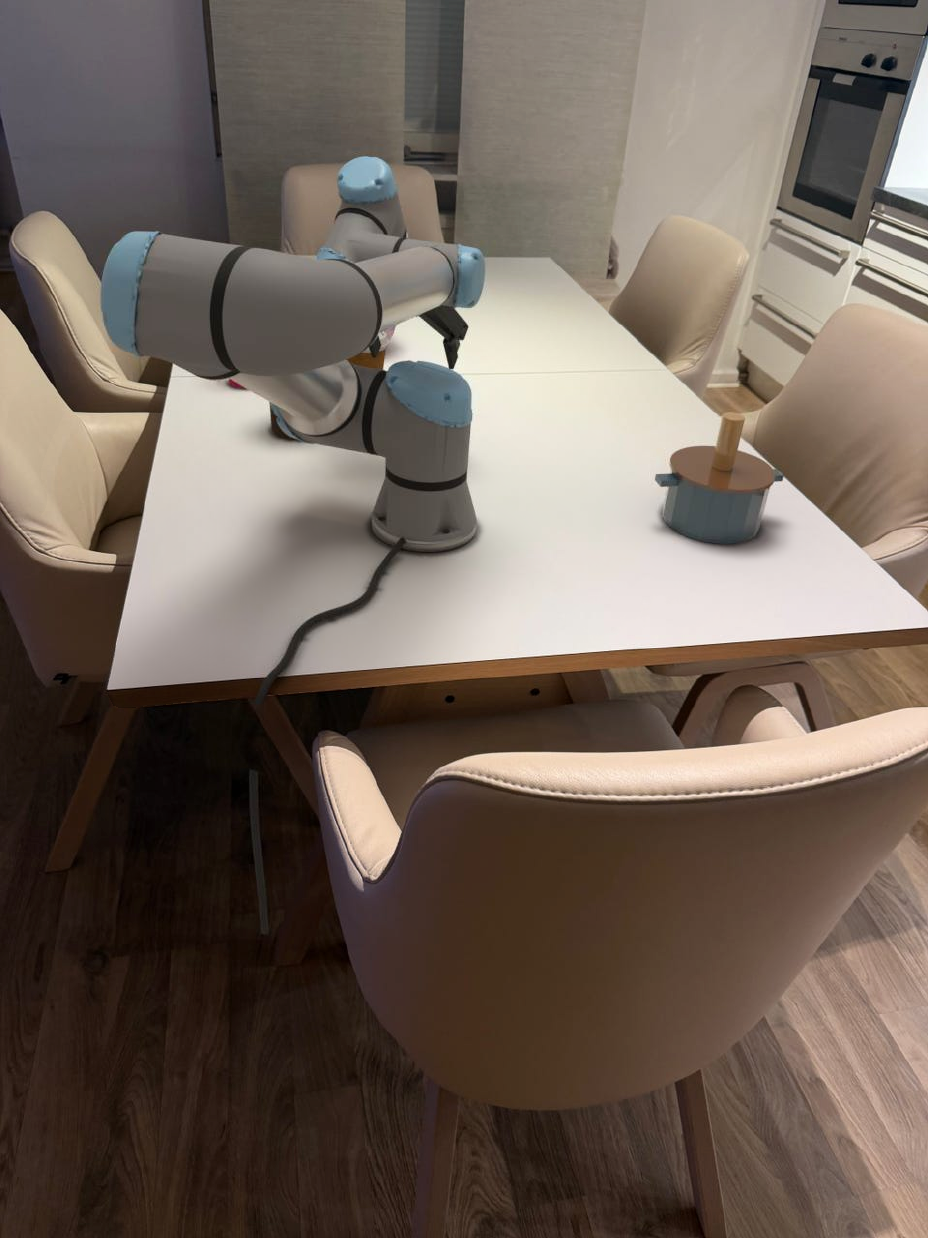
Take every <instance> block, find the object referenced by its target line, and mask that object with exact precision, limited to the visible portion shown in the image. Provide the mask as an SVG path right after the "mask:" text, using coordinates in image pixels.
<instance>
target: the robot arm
mask: <svg viewBox="0 0 928 1238" xmlns="http://www.w3.org/2000/svg"><path fill="white" fill-rule="evenodd" d="M336 184H337V189H338V193H337V194H338V196H339V198H340V199H341V203H340V206H339V208H338V210H337V212H336V214H335V216H334V221H333V225H332V226H331V228H330V230H329V232H328V234H327V236H326V238H325V240H324V242H323V244H322V245H321V248H319V250H318V252H317V255H316V258H311V257H305V256H301V255H295V254H290V253H286V252H281V251H277V250H272V249H268V248H261V247H250V246H246V245H240V244H232V243H224V242H217V241H210V240H204V239H197V238H191V237H184V236H179V235H178V236H177V235H171V234H165V233H163V232H162V231H160V230H159V231H158V230H156V231H139V230H138V231H131V232H129V233H127V234H125V235H123V236H122V237H121V238H120V240H119V241H117V242H116V243H115V244H114V246H113V247H112V248H111V250H110V252H109V254H108V257H106V258H107V259H106V261H105V264H104V266H103V267H104V268H103V272H102V277H101V282H100V283H101V284H100V297H99V298H100V300H99V301H100V310H101V313H102V321H103V325H104V328H105V331H106V333H107V336H108V337H109V339H110V341H111V342H112V343H113V344H114V345H115V346H116V348H118V349H119V350H121V351H123V352H126V353H130V354H133V355H134V356H136V357H137V358H142V357H148V358H155V359H159V360H162V361H166V362H168V363H171V364H172V365H175V366H176V367H178V368H181V369H182V370H184V371H186V372H188V373H190V374H192V375H194V376H196V377H198V378H200V379H204V380H208V381H225V380H229V379H231V380H233V381H234V382H236V383H238V384H240V385H241V386H243V387H245V388H244V389H247V390H248V391H250V392H251V393H254V394H256V395H257V396H259V397H260V398H262V399H264V400H266V401H268V403H269V402H271V403H273V409H274V414H275V415H276V416H278V417H277V423H278V425H279V427H280V428H281V429H282V431H283V432H284V433H285V434H287V435H288V436H290V437H292V438H294V439H297V440H296V441H299V442H302V443H305V444H311V445H321V446H327V447H332V448H337V449H342V450H348V451H353V452H359V453H364V454H369V455H373V456H377V457H382V458H384V459H385V463H384V464H385V466H384V467H385V468H384V469H385V471H384V474H385V475H384V479H383V482H382V484H381V487H380V490H379V493H378V495H377V497H376V501H375V503H374V506H373V509H372V512H371V529H372V531H373V533H374V535H375V536H376V537H377V538H379V539H380V540H381V541H383V542H384V543H386V544H388V545H390V546H393V547H392V548H391V549H390V550H389V552H388V553H387V555H385V557H384V558H383V559H382V561H381V562H380V563H379V565H378V566H377V568H376V569H375V570H374V573H373V575H372V577H371V580H370V583H369V585H368V587H367V589H366V591H365V592H364V593H363V594H362V595H360V597H358V598H356V599H355V600H353V601H351V602H348V603H346V604H344V605H340V606H338V607H334V608H332V609H328V610H325V611H323V612H320V613H318V614H316V615H314V616H311V617H310V618H309V619H306V621H305V622H303V623H302V624H301V625H300V626H299V627H298V628H297V629H296V630H295V631H294V634H293V635H292V637H291V639H290V642H289V643H288V646H287V649H286V651H285V653H284V655H283V657H282V659H281V660H280V662H279V663H278V664H277V665H276V667H274V668H273V669H272V670H271V671H270V672H269V673H268V674H267V675H266V677H265V678H264V679H263V681H262V682H261V684H260V686H259V689H258V692H257V694H256V697H255V700H254V704H253V707H254V708H256V709H260V708H262V707H263V706H264V704H265V700H266V697H267V695H268V692H269V691H270V688H271V686H272V685H273V683H274V681H275V680H277V678H278V677H279V676H280V675H281V674H282V673H283V672H284V671H285V670H286V669H287V667H288V665H289V664H290V663H291V661H292V660H293V657H294V656H295V653H296V650H297V648H298V645H299V643H300V641H301V639H302V638H303V635H304V634H305V633H306V632H307V631H308V630H309V629H310V628H312V627H313V626H315V625H316V624H318V623H320V622H323V621H325V620H328V619H330V618H333V617H337V616H341V615H344V614H346V613H349V612H352V611H353V610H356V609H357V608H359V607H361V606H362V605H364V604H365V603H366V602H367V601H369V600H370V599H371V598H372V596H373V595H374V593H375V592H376V590H377V587H378V583H379V581H380V579H381V576H382V575H383V573H384V571H385V570H386V568H387V567H388V566H389V565H390V563H391V562H392V561H393V559H394V558H395V557H396V556H397V554H398V553H399V552H400V550H405V551H411V552H422V553H433V552H435V553H436V552H443V551H448V550H453V549H456V548H458V547H461V546H463V545H465V544H467V543H468V542H469V541H471V540H472V539H473V537H474V536H475V534H476V529H477V515H476V510H475V506H474V503H473V499H472V496H471V492H470V488H469V485H468V468H469V453H470V441H471V440H470V439H471V426H472V421H473V414H474V413H473V409H472V400H473V399H472V397H473V396H472V395H473V394H472V389H471V386H470V384H469V383H468V381H467V380H466V379H465V378H464V377H463V376H462V374H460V373H458V372H457V371H455V370H454V369H455V367H456V364H457V361H458V359H459V354H458V353H459V349H460V347H461V341H464V340H465V338H466V336H467V333H468V331H469V325H468V323H467V322H466V321H465V319H464V318H463V317H462V315H460V313H459V312H458V311H457V310H456V309H457V308H459V309H472V308H475V306H477V305H478V303H479V301H480V299H481V297H482V294H483V290H484V286H485V278H486V261H485V257H484V255H483V252H482V251H481V250H480V249H479V248H476V247H472V246H466V245H462V244H461V243H456V244H455V243H447V242H446V243H445V242H440V241H439V242H437V241H430V240H422V239H414V238H410V237H409V234H408V230H407V227H406V223H405V218H404V215H403V214H404V213H403V209H402V206H401V205H402V204H401V201H400V196H399V192H398V190H399V189H398V185H397V184H396V180H395V178H394V174H393V171H392V169H391V167H390V165H389V164H388V163H387V162H386V161H385V160H384V159H381V158H379V157H376V156H368V155H364V156H358V157H356V158H353V159H351V160H350V161H348V162H346V163H345V164H344V165H343V166H342V167H341V168H340V169H339V171H338V173H337V177H336ZM417 317H418V318H419V319H421V320H423V321H424V322H425V323H426V324H427V325H429V326H430V327H431V328H432V329H433V330H434V331H436V332H437V333H438V334H439V335H441V337H443V340H442V344H443V349H444V353H445V358H446V361H447V362H446V363H447V366H448V367H447V366H445V365H441V364H438V363H435V362H430V361H425V360H416V361H413V360H401V361H398V362H394V363H392V364H391V365H390V366H389V367H388V369H387V370H386V369H383V370H380V369H374V368H369V367H363V366H358V365H354V364H352V363H350V362H349V361H348V360H347V359H349V358H351V357H353V356H355V355H357V354H359V353H361V352H363V351H365V350H366V349H367V348H369V349H370V352H371V355H372V357H374V358H376V357H377V355H378V352H379V350H380V348H381V342H380V339H379V336H378V334H379V333H381V332H383V331H385V330H387V329H389V328H391V327H394V326H396V327H397V326H398V325H400V324H403V323H405V322H407V321H409V320H410V319H411V320H412V319H413V318H417ZM248 779H249V781H248V782H249V784H248V785H249V813H250V815H249V816H250V829H251V830H250V831H251V841H252V852H253V860H254V869H255V878H256V888H257V897H258V898H257V899H258V908H259V921H260V923H259V924H260V933H261V935H263V936H264V935H265V936H267V934H269V932H270V931H269V918H268V917H269V915H268V903H267V892H266V883H265V873H264V862H263V855H262V854H263V851H262V841H261V840H262V839H261V829H260V813H259V812H260V811H259V771H258V770H254V769H251V768H249V778H248Z"/></svg>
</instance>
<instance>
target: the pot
mask: <svg viewBox="0 0 928 1238" xmlns="http://www.w3.org/2000/svg"><path fill="white" fill-rule="evenodd" d="M773 470H774V472H775V480H774V483H776V482H783V480H784V474H783V473H781V472H780V471H779V470H778V469H777V468H773ZM654 481H655V483H656V484H658V486H659V487H660V488H666V490H665V495H664V500H663V505H662V518H663V521H664V522H665V523H666V524H667V525H668V526H669V527H670V528H671V529H672V530H673V531H676V532H677V533H679V534H680V535H683V536H686V537H687V538H690V539H693V540H697V541H700V542H705V543H709V544H710V543H712V544H720V545H723V544H727V545H728V544H729V545H731V544H739V543H744V542H747V541H749V540H751V539H753V538H754V537H755V536H756V535H757V533H758V531H759V530H760V527H761V523H762V519H763V516H764V512H765V509H766V504H767V500H768V496H769V493H770V489H771V486H770V487H769V488H767V489H765V490H763V491H759V492H754V493H745V494H736V493H724V492H718V491H713V490H708V489H705V488H701V487H698V486H696V485H693V484H691V483H689V482H686V481H685V480H683V479H681V478H680V477H678V476H677V475H676V474H675V473H674V472H673V471H672V470H671V469H670V471H669V473H655V476H654Z"/></svg>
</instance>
